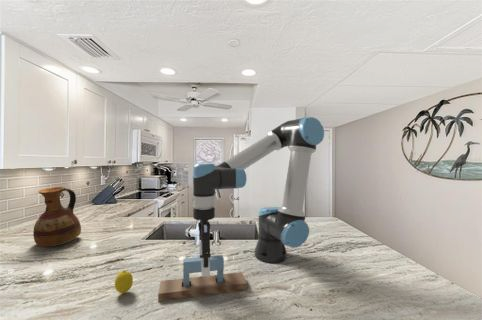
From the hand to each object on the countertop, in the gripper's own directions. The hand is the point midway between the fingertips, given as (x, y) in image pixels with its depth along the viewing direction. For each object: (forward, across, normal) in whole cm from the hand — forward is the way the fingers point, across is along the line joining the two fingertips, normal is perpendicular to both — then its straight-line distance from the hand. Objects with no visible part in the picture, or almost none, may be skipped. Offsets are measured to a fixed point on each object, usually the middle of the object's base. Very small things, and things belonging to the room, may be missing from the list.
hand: (204, 266), depth 84 cm
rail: (+8, 0, 0) cm, 8 cm away
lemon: (+8, -3, -27) cm, 29 cm away
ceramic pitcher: (+8, -60, -73) cm, 95 cm away
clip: (+8, 0, 0) cm, 8 cm away
